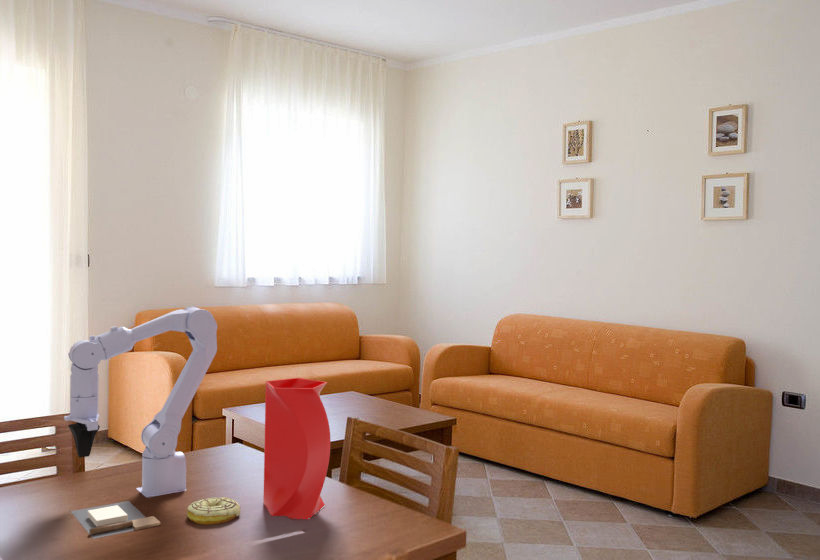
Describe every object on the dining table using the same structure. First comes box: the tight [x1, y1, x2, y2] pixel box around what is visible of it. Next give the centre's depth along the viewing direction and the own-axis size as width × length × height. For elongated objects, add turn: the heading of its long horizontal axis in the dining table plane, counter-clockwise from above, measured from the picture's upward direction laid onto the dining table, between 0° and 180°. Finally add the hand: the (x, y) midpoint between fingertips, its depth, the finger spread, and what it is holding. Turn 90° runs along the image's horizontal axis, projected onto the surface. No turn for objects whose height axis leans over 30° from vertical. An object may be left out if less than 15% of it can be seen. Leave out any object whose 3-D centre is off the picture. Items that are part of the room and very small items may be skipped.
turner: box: [88, 515, 161, 536], centre depth 148 cm, size 13×4×1 cm, turn 128°
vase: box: [262, 377, 331, 520], centre depth 162 cm, size 15×14×28 cm
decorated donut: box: [186, 496, 241, 526], centre depth 156 cm, size 10×11×4 cm
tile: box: [88, 505, 128, 527], centre depth 152 cm, size 6×2×7 cm
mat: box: [70, 500, 155, 540], centre depth 153 cm, size 12×18×1 cm, turn 38°
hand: (83, 456), depth 163 cm, fingers closed
